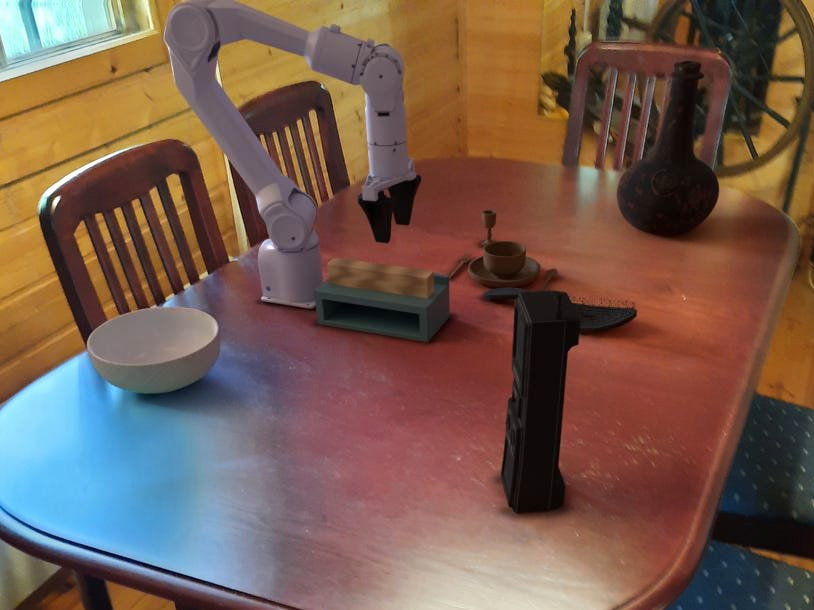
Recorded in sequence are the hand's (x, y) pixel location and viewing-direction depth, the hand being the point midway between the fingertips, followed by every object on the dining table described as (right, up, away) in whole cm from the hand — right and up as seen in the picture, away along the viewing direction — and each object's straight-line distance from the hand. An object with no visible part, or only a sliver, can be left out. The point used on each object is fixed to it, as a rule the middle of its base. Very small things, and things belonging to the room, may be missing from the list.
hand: (392, 233), depth 131 cm
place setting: (+19, -2, +15) cm, 24 cm away
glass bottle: (+49, +9, +28) cm, 57 cm away
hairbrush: (+25, -13, 0) cm, 28 cm away
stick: (-2, -9, -4) cm, 10 cm away
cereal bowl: (-31, -24, -14) cm, 41 cm away
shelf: (-1, -14, -1) cm, 14 cm away
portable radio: (+17, -39, -36) cm, 56 cm away
